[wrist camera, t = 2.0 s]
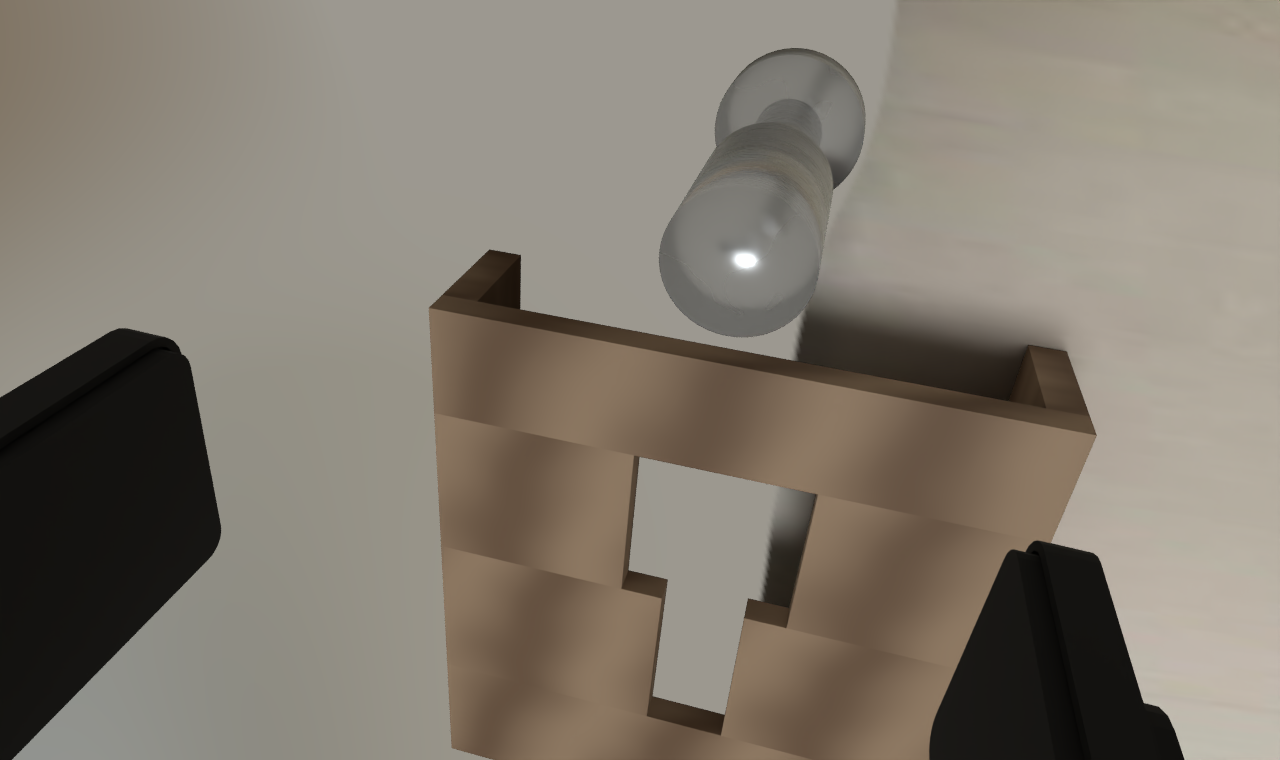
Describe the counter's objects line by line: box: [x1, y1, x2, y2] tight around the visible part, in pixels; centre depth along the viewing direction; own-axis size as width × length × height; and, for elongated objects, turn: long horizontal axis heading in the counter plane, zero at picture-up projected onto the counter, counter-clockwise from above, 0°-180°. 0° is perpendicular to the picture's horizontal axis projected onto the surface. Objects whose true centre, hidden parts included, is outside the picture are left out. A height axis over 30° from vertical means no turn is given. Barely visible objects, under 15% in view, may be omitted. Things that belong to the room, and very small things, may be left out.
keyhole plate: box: [429, 250, 1097, 760], centre depth 34 cm, size 20×22×5 cm
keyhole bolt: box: [659, 48, 865, 337], centre depth 22 cm, size 4×4×12 cm
